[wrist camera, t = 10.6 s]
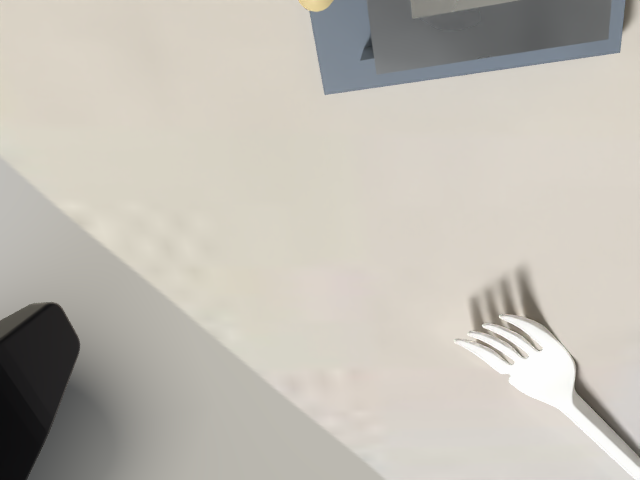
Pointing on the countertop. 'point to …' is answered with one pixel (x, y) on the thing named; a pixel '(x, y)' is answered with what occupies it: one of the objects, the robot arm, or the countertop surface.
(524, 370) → the fork
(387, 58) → the block
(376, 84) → the tray
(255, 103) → the countertop surface
